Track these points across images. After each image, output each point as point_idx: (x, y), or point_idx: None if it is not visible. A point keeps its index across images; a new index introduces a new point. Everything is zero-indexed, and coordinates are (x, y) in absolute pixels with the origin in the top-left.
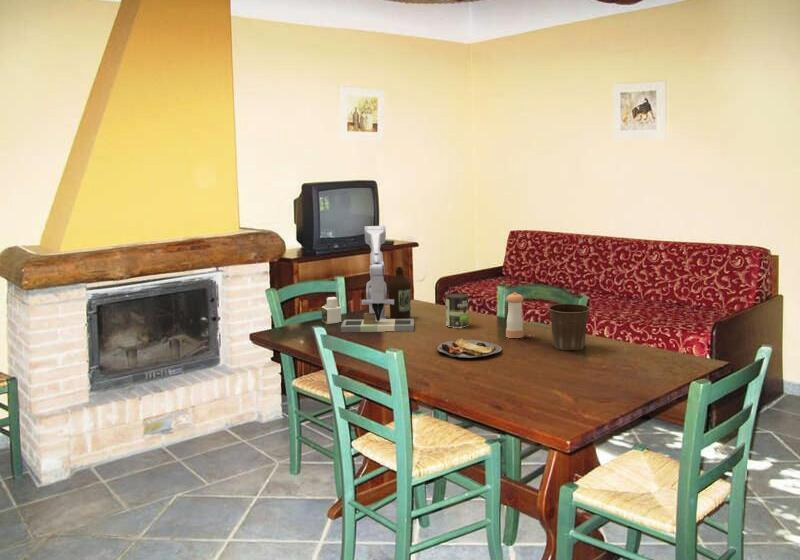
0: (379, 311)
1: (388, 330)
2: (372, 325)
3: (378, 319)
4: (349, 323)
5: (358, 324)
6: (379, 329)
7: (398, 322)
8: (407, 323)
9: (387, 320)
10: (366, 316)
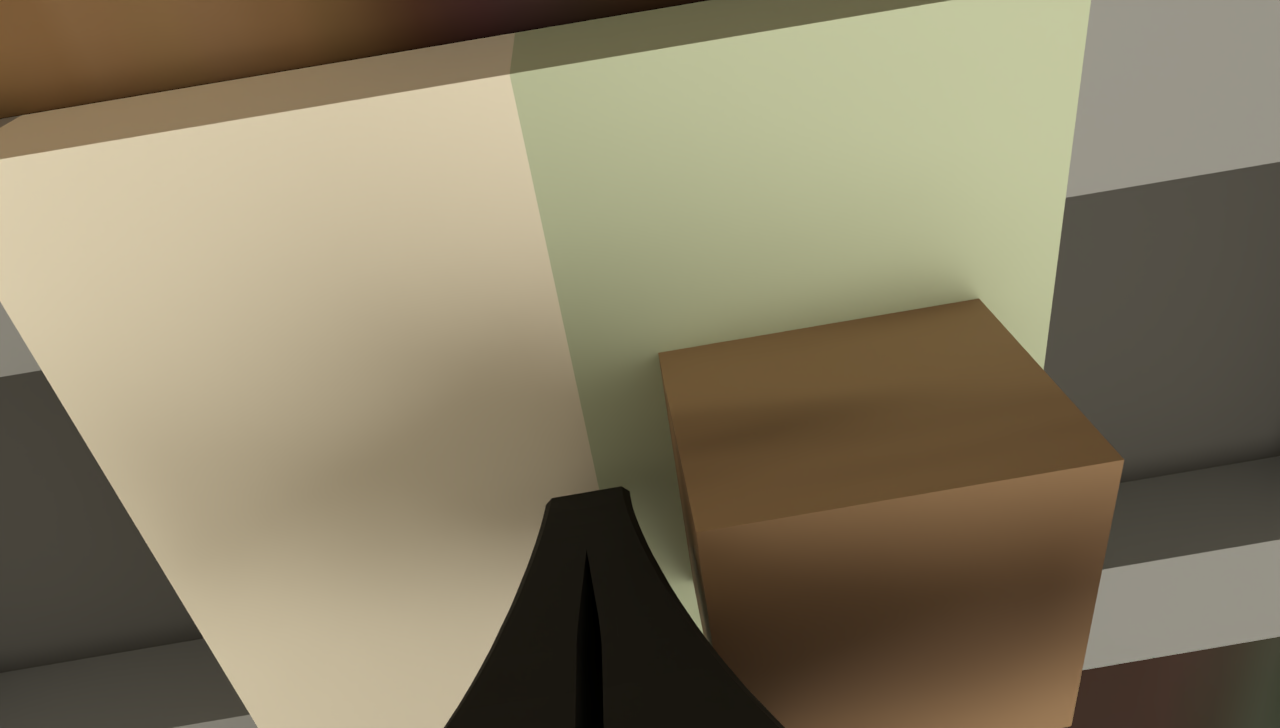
0: (520, 711)
1: (183, 93)
2: (695, 155)
3: (576, 512)
4: (1268, 497)
5: None
6: (448, 55)
7: (189, 685)
8: (3, 697)
9: (429, 688)
10: (989, 447)
